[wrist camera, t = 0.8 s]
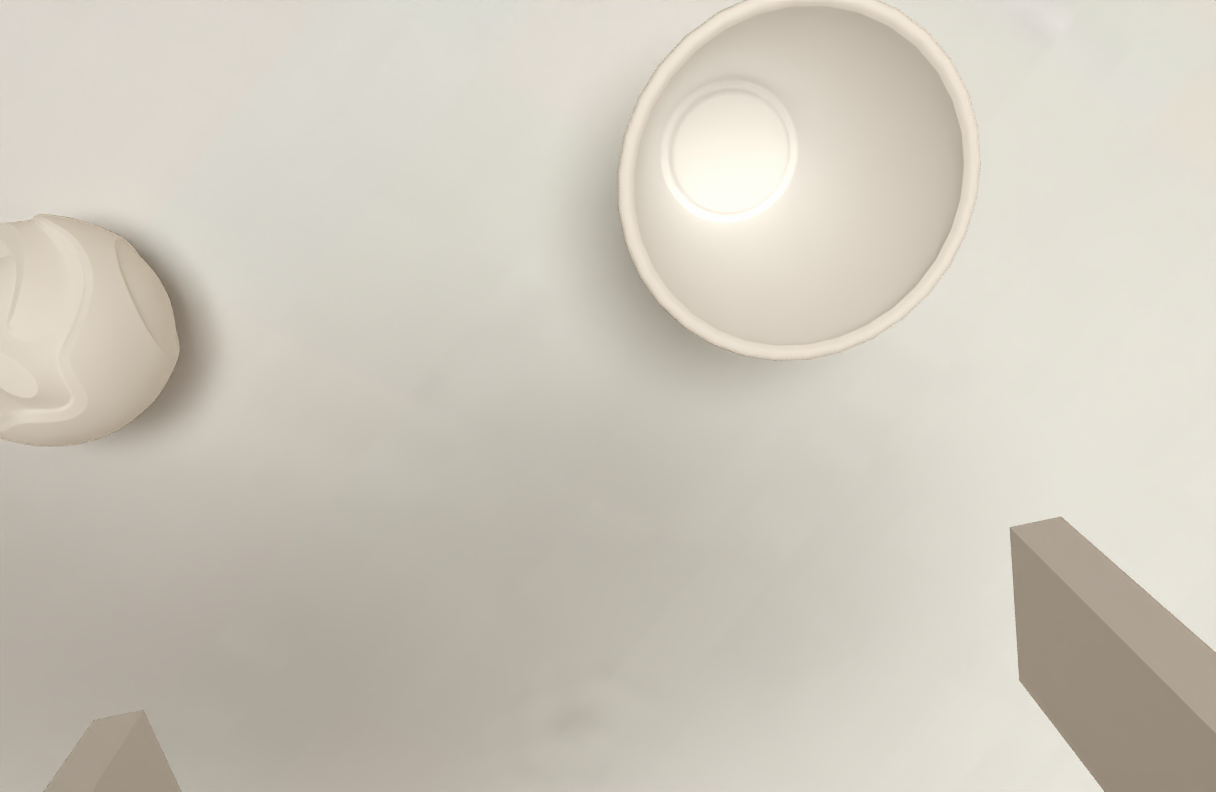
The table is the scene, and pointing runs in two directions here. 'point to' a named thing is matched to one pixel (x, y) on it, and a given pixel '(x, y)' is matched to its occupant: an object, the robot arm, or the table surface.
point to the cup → (798, 175)
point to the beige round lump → (78, 332)
